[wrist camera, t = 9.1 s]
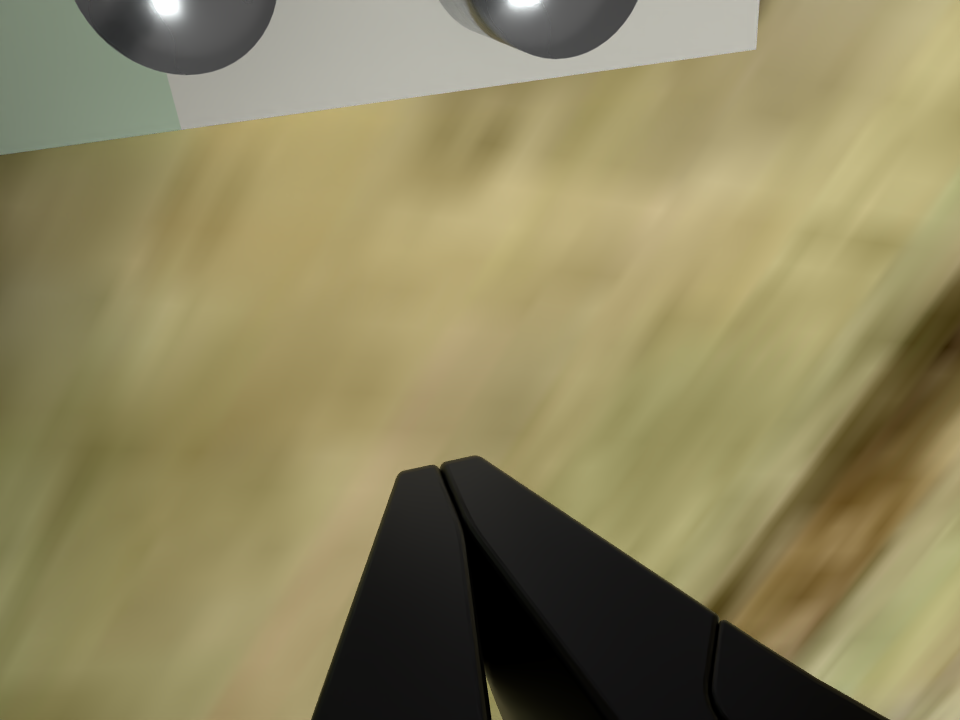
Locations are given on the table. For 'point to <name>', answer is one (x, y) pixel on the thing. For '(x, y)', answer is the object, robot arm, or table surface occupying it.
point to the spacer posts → (250, 5)
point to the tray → (306, 64)
